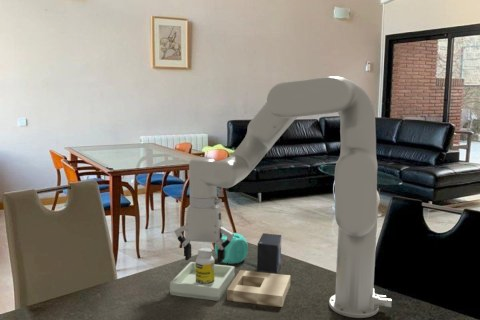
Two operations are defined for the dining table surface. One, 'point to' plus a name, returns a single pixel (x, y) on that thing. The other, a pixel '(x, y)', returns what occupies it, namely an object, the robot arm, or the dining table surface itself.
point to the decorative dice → (234, 249)
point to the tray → (188, 287)
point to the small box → (269, 253)
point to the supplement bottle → (205, 267)
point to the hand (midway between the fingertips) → (204, 260)
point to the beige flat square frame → (259, 288)
